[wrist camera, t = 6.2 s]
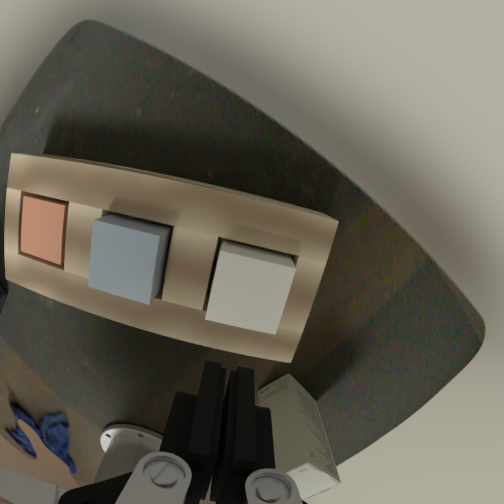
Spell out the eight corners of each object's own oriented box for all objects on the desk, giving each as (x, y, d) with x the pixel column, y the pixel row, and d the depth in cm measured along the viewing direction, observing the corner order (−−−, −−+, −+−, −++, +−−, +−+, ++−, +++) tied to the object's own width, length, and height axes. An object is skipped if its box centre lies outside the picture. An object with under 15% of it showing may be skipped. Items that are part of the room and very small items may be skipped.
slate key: (160, 289, 23) (149, 304, 20) (104, 273, 22) (88, 286, 19) (171, 227, 21) (159, 236, 19) (111, 213, 21) (93, 219, 18)
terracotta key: (77, 255, 24) (60, 264, 21) (39, 243, 24) (20, 250, 21) (83, 201, 23) (64, 205, 20) (42, 192, 22) (23, 195, 20)
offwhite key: (272, 315, 23) (275, 334, 20) (210, 301, 23) (204, 319, 20) (290, 256, 22) (296, 268, 19) (223, 240, 22) (220, 250, 19)
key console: (284, 333, 28) (290, 363, 23) (33, 264, 26) (5, 278, 21) (322, 212, 25) (338, 221, 20) (42, 153, 23) (11, 153, 18)
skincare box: (255, 390, 30) (258, 480, 18) (290, 370, 29) (307, 461, 18) (287, 418, 31) (299, 502, 20) (319, 401, 31) (342, 485, 19)
